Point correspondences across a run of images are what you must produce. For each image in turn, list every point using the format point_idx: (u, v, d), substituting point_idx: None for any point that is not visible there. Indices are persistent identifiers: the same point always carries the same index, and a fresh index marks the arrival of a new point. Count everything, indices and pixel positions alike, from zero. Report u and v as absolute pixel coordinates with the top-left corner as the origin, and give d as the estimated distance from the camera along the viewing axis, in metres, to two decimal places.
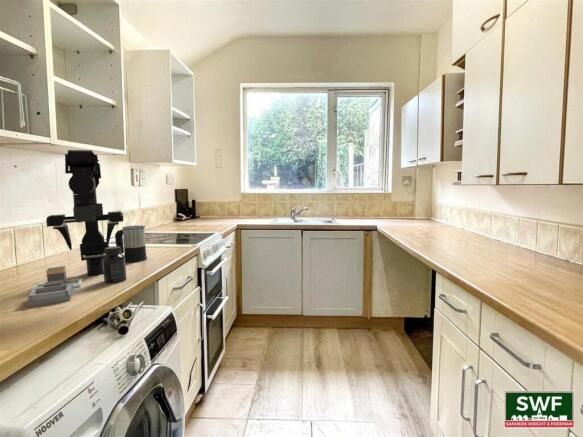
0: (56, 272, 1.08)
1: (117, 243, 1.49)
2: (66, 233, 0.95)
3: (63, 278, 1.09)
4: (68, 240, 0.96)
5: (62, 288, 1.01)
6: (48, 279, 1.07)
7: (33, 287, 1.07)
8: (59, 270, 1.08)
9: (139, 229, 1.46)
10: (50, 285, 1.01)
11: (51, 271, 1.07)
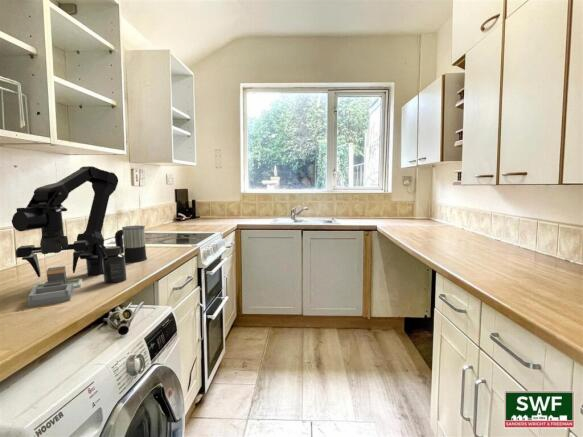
0: (56, 272, 1.08)
1: (117, 243, 1.49)
2: (34, 262, 1.06)
3: (63, 278, 1.09)
4: (36, 269, 1.06)
5: (62, 288, 1.01)
6: (48, 279, 1.07)
7: (33, 287, 1.07)
8: (59, 270, 1.08)
9: (139, 229, 1.45)
10: (50, 285, 1.01)
11: (51, 271, 1.07)
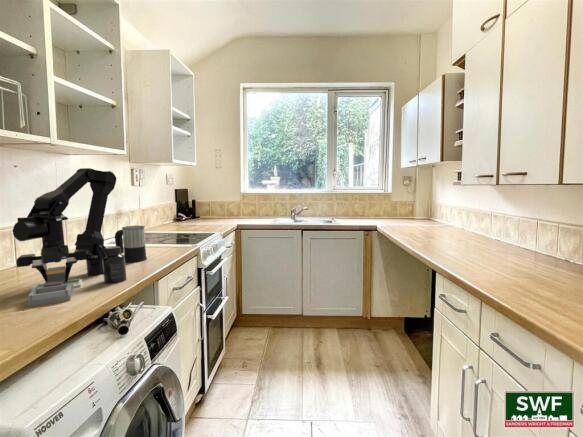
0: (56, 272, 1.08)
1: (117, 243, 1.49)
2: (44, 271, 1.07)
3: (63, 278, 1.09)
4: (46, 277, 1.07)
5: (62, 288, 1.01)
6: (48, 279, 1.07)
7: (33, 287, 1.07)
8: (59, 270, 1.08)
9: (139, 229, 1.45)
10: (50, 285, 1.01)
11: (51, 271, 1.07)
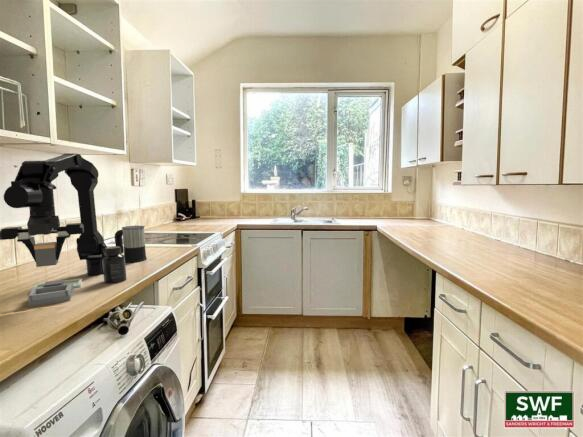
0: (45, 247, 0.94)
1: (117, 243, 1.49)
2: (31, 245, 0.94)
3: (53, 254, 0.95)
4: (33, 252, 0.94)
5: (62, 288, 1.01)
6: (36, 255, 0.94)
7: (33, 287, 1.07)
8: (49, 245, 0.95)
9: (139, 229, 1.45)
10: (50, 285, 1.01)
11: (40, 246, 0.94)
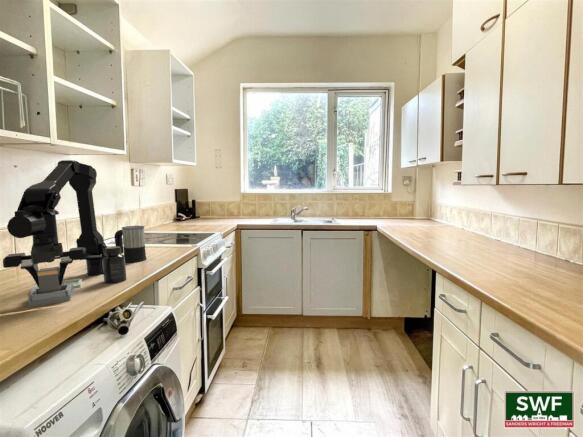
0: (49, 273, 0.95)
1: (116, 243, 1.49)
2: (35, 272, 0.94)
3: (57, 280, 0.96)
4: (37, 279, 0.95)
5: (62, 288, 1.01)
6: (39, 281, 0.94)
7: (33, 287, 1.07)
8: (52, 271, 0.95)
9: (138, 229, 1.45)
10: None
11: (43, 272, 0.94)
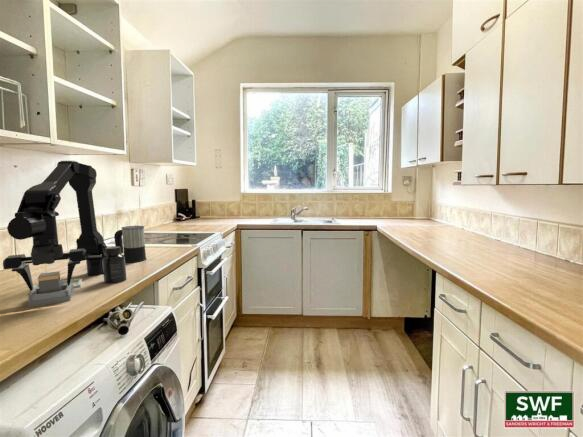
0: (49, 278, 0.95)
1: (116, 243, 1.49)
2: (26, 274, 0.93)
3: (57, 285, 0.96)
4: (28, 281, 0.94)
5: (62, 288, 1.01)
6: (40, 286, 0.94)
7: (33, 287, 1.07)
8: (52, 276, 0.96)
9: (138, 229, 1.45)
10: None
11: (43, 277, 0.95)
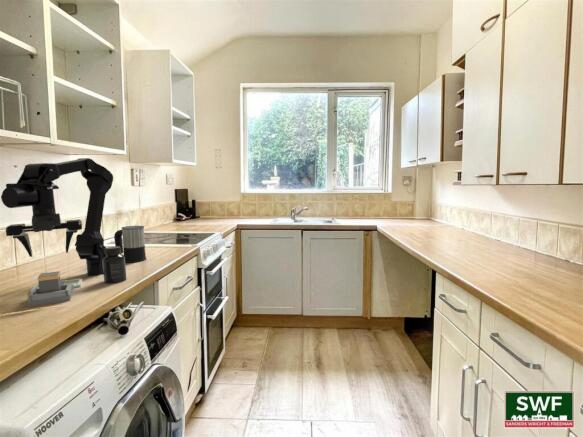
0: (49, 278, 0.95)
1: (116, 243, 1.49)
2: (26, 241, 1.02)
3: (57, 285, 0.96)
4: (28, 248, 1.03)
5: (62, 288, 1.01)
6: (40, 286, 0.94)
7: (33, 287, 1.07)
8: (52, 276, 0.96)
9: (138, 229, 1.45)
10: None
11: (43, 277, 0.95)
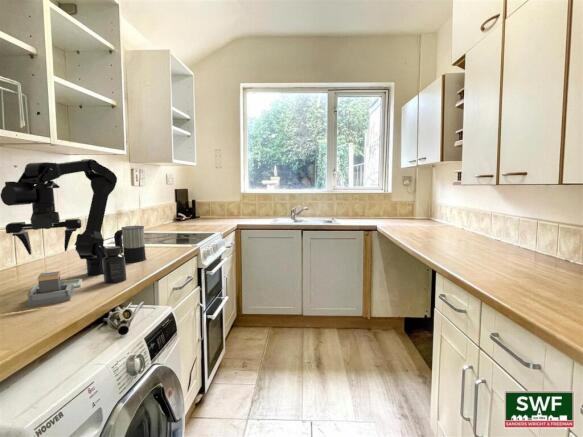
0: (49, 278, 0.95)
1: (116, 243, 1.49)
2: (25, 239, 1.03)
3: (57, 285, 0.96)
4: (27, 246, 1.04)
5: (62, 288, 1.01)
6: (40, 286, 0.94)
7: (33, 287, 1.07)
8: (52, 276, 0.96)
9: (138, 229, 1.45)
10: None
11: (43, 277, 0.95)
